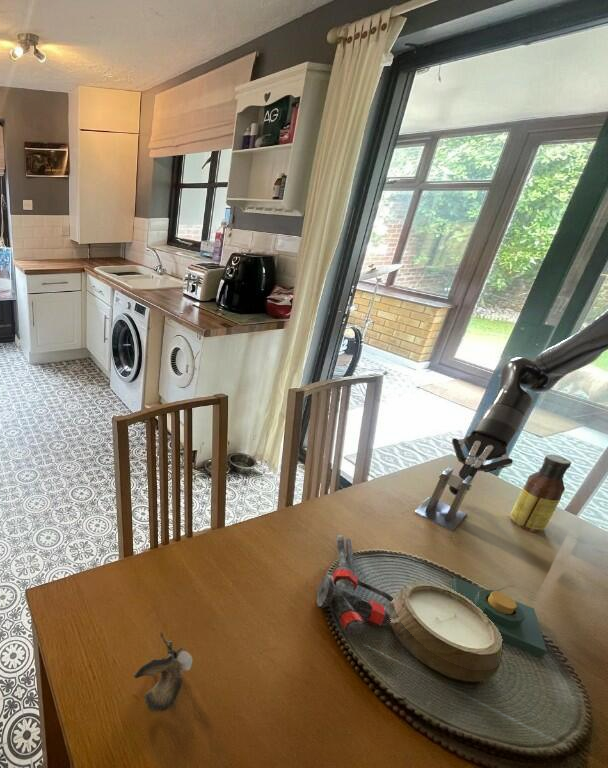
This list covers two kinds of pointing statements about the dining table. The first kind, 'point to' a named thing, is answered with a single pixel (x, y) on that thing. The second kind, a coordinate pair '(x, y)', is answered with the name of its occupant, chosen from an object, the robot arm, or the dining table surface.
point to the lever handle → (454, 483)
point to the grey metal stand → (441, 511)
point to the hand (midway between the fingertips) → (463, 479)
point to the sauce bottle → (540, 495)
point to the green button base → (507, 620)
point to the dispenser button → (502, 602)
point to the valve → (350, 595)
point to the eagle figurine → (165, 677)
